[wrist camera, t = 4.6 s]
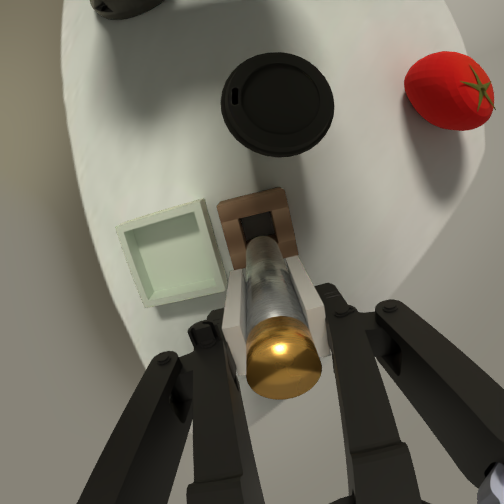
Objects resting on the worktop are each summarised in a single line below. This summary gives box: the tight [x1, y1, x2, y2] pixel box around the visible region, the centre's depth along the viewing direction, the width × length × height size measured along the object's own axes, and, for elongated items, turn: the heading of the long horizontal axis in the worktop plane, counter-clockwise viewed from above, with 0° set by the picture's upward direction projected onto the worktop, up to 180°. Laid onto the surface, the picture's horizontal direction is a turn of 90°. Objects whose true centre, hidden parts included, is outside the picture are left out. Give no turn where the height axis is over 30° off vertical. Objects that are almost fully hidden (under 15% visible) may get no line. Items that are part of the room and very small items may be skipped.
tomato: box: [404, 51, 496, 131], centre depth 26 cm, size 13×11×14 cm
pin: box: [246, 236, 322, 399], centre depth 17 cm, size 3×3×15 cm
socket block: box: [217, 187, 299, 270], centre depth 36 cm, size 8×8×5 cm
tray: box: [115, 198, 228, 308], centre depth 37 cm, size 12×12×4 cm
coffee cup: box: [221, 52, 334, 157], centre depth 27 cm, size 10×10×15 cm
